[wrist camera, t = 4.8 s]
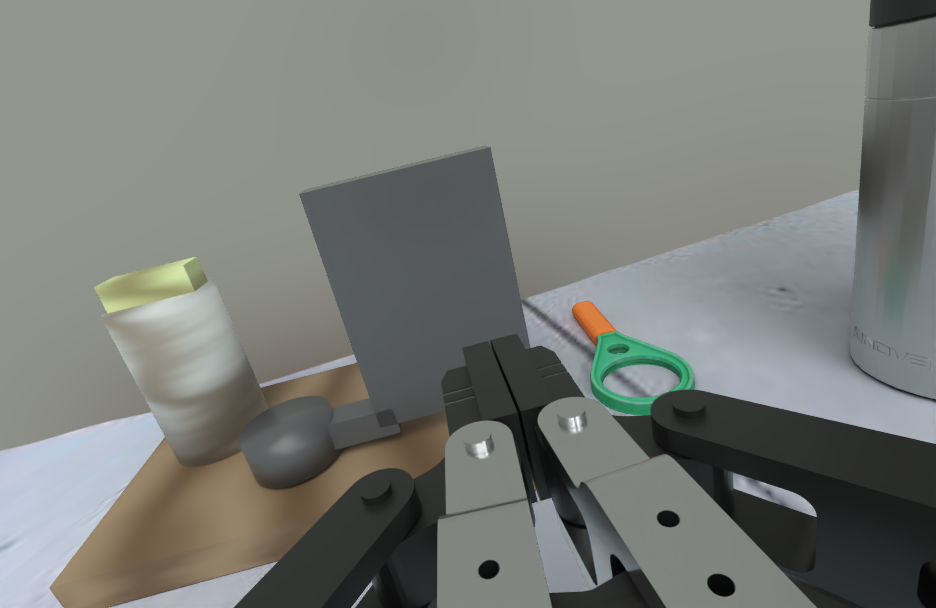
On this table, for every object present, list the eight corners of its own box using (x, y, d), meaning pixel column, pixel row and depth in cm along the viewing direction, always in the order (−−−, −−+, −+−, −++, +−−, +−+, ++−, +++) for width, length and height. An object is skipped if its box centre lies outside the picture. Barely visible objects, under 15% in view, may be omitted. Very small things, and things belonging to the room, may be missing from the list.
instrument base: (494, 350, 40) (456, 181, 35) (550, 486, 25) (496, 222, 20) (199, 428, 39) (117, 265, 34) (70, 617, 24) (-109, 374, 19)
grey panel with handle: (526, 373, 31) (479, 144, 26) (548, 416, 26) (496, 148, 21) (267, 441, 30) (168, 220, 25) (243, 498, 26) (115, 241, 21)
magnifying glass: (717, 406, 28) (715, 381, 28) (614, 431, 28) (610, 406, 28) (618, 311, 42) (616, 293, 42) (550, 327, 42) (546, 309, 42)
